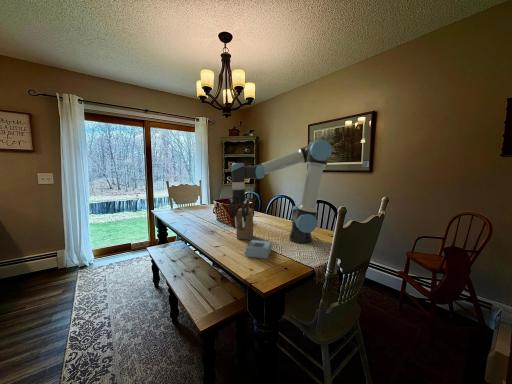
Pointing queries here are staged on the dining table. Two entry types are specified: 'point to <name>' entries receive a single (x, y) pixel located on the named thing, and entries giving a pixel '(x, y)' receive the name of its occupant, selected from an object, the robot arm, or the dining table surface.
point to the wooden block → (247, 227)
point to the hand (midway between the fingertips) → (240, 226)
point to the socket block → (258, 249)
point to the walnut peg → (239, 220)
